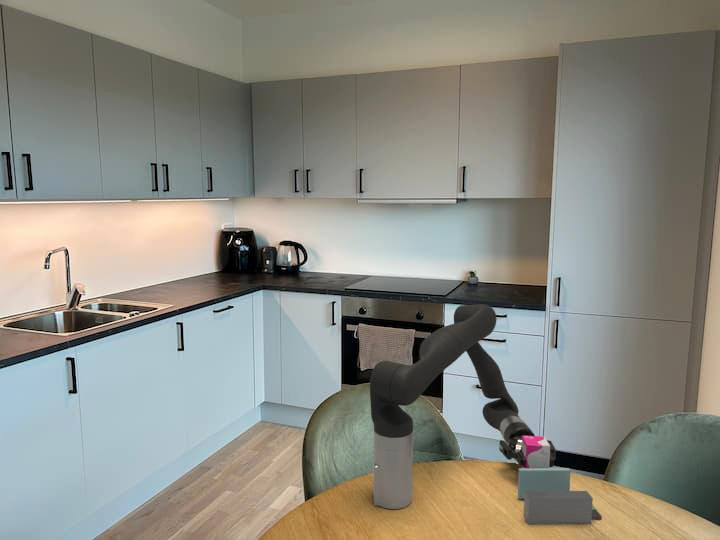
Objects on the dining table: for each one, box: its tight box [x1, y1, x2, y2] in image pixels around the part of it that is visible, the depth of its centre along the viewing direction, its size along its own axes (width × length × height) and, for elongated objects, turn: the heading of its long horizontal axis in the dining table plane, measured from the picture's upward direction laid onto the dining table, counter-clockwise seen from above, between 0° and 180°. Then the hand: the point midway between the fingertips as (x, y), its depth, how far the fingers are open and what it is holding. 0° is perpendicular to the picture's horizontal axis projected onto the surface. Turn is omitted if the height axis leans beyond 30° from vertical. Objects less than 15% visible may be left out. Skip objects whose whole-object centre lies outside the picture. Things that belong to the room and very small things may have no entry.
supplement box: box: [520, 435, 550, 468], centre depth 132 cm, size 6×6×12 cm
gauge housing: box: [523, 490, 603, 525], centre depth 121 cm, size 17×10×6 cm, turn 91°
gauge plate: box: [517, 467, 571, 500], centre depth 125 cm, size 16×1×7 cm, turn 91°
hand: (538, 463), depth 129 cm, fingers closed on supplement box, 6 cm apart
